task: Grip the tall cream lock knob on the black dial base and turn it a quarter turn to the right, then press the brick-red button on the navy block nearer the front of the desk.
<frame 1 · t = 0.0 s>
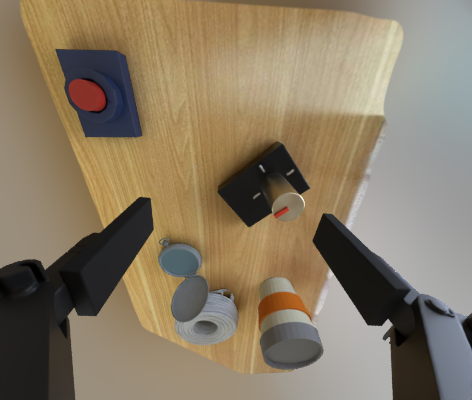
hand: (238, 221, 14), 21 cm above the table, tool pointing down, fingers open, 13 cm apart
lock knob: (279, 194, 27), point 8 cm above the table, hinge at 0.0°
button block: (109, 98, 28), on the table
reusable coffee cup: (275, 287, 49), on the table
red button: (88, 96, 24), point 4 cm above the table, slide at 0.1 cm
cable: (208, 308, 52), on the table
black dial base: (261, 184, 35), on the table
pocket watch: (182, 257, 43), on the table
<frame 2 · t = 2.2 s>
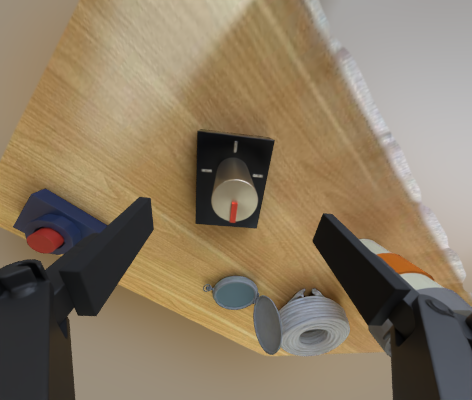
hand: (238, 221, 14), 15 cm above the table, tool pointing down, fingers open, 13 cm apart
lock knob: (233, 185, 20), point 8 cm above the table, hinge at 0.0°
button block: (70, 223, 30), on the table
reusable coffee cup: (356, 255, 37), on the table
red button: (46, 240, 26), point 4 cm above the table, slide at 0.1 cm
cable: (305, 313, 45), on the table
black dial base: (230, 179, 28), on the table
pocket watch: (236, 288, 40), on the table
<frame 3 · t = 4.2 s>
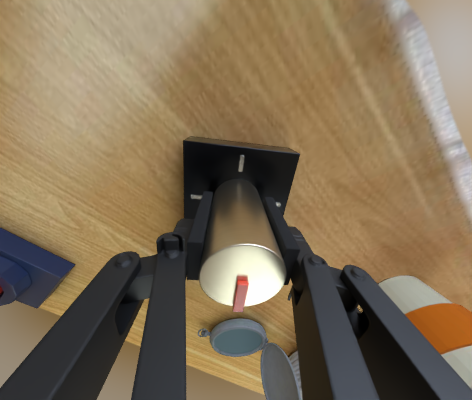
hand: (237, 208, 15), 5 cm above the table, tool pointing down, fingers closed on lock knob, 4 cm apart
lock knob: (238, 228, 13), point 8 cm above the table, hinge at 0.0°, touching gripper
button block: (19, 260, 23), on the table
reusable coffee cup: (392, 293, 29), on the table
black dial base: (233, 204, 20), on the table
pocket watch: (239, 331, 32), on the table
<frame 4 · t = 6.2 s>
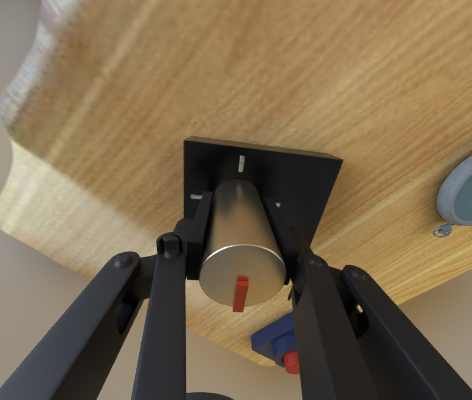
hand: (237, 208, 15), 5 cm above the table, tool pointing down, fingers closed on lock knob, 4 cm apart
lock knob: (238, 228, 13), point 8 cm above the table, hinge at -89.7°, touching gripper
button block: (287, 331, 32), on the table
red button: (295, 361, 28), point 4 cm above the table, slide at 0.1 cm
black dial base: (252, 190, 20), on the table
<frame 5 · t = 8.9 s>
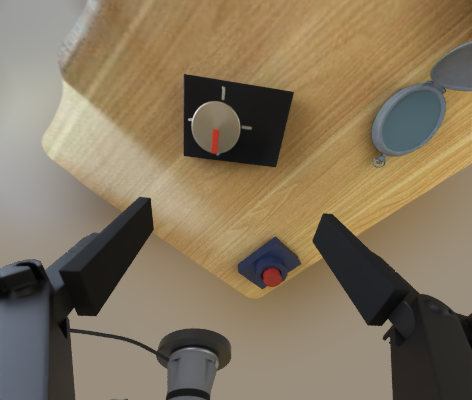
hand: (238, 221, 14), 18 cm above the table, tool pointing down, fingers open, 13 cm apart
lock knob: (218, 126, 20), point 8 cm above the table, hinge at -90.2°
button block: (267, 260, 39), on the table
red button: (271, 277, 35), point 4 cm above the table, slide at 0.1 cm
black dial base: (234, 124, 27), on the table
pocket watch: (401, 120, 27), on the table
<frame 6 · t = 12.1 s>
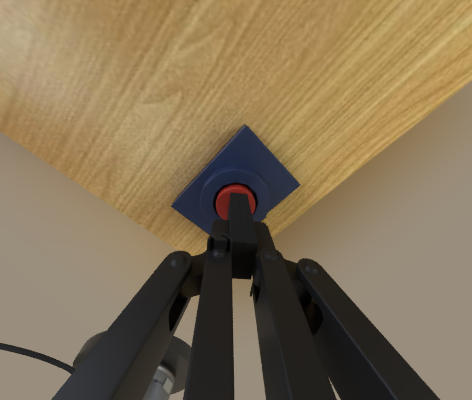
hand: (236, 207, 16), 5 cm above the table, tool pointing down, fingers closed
button block: (234, 188, 20), on the table
red button: (235, 202, 17), point 4 cm above the table, slide at -0.7 cm, touching gripper
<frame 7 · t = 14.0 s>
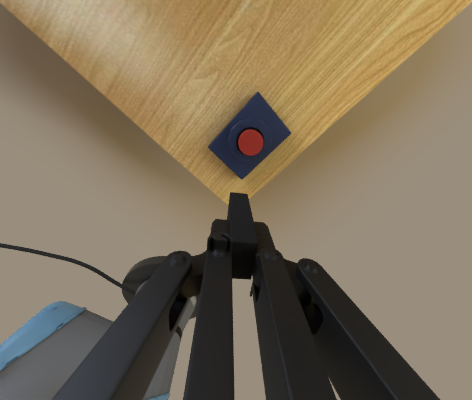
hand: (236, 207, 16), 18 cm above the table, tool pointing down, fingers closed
button block: (247, 138, 30), on the table
red button: (250, 142, 26), point 4 cm above the table, slide at 0.1 cm
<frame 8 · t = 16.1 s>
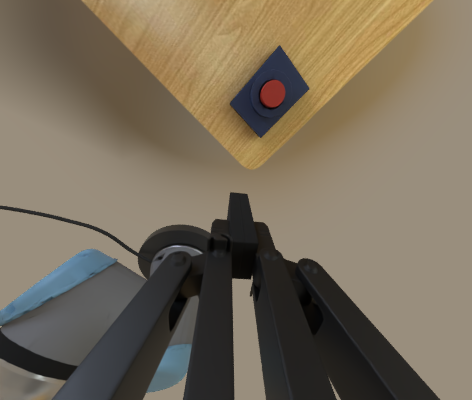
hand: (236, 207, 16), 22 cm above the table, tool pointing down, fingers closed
button block: (266, 97, 31), on the table
red button: (272, 94, 27), point 4 cm above the table, slide at 0.1 cm
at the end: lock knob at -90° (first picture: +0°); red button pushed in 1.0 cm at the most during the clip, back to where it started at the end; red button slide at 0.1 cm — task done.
